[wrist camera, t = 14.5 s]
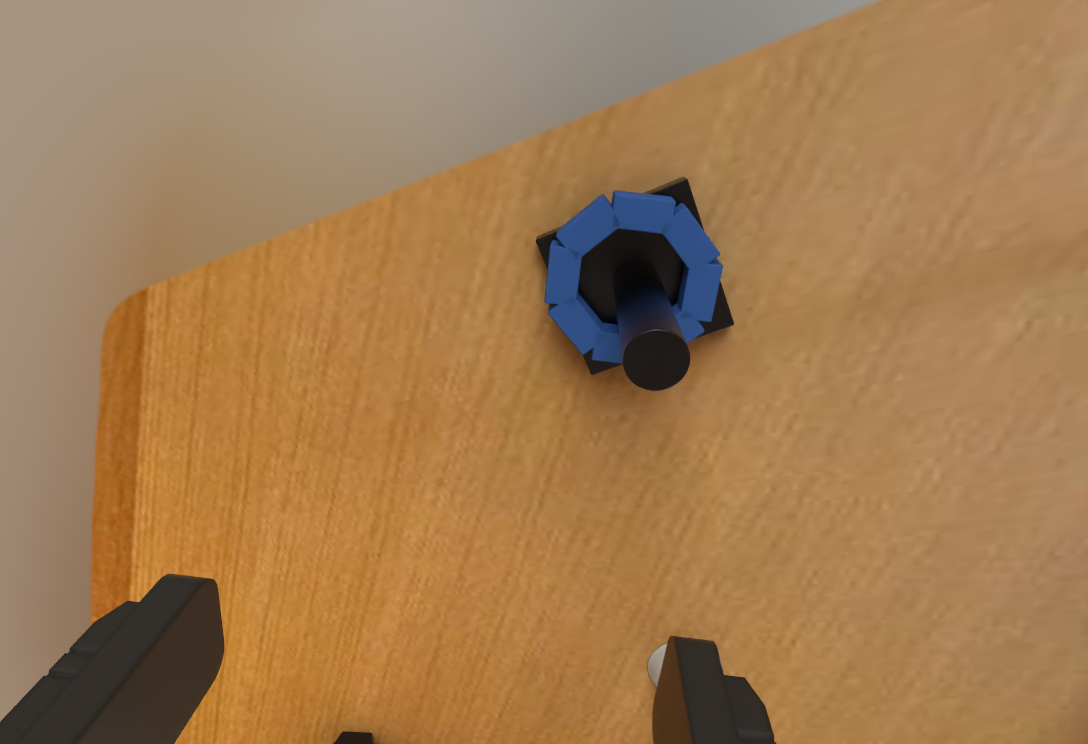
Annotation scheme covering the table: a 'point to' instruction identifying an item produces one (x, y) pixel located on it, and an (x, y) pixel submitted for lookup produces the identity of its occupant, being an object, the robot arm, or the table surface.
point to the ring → (634, 216)
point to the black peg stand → (642, 297)
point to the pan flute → (354, 738)
